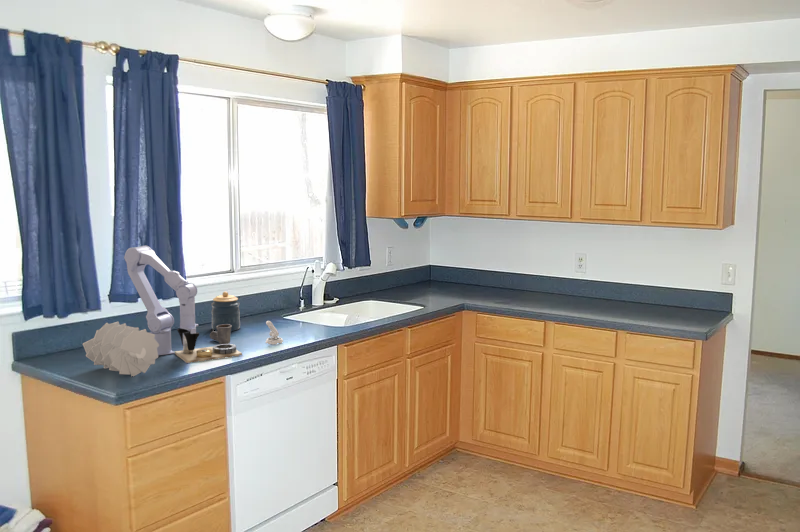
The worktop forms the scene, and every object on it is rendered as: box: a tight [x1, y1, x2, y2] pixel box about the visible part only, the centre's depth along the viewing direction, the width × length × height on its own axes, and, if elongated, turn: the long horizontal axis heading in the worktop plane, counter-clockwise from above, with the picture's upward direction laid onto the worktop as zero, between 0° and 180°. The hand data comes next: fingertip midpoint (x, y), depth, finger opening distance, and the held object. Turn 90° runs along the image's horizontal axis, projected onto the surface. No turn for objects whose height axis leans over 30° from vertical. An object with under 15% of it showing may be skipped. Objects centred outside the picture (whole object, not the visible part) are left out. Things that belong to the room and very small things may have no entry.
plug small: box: [196, 349, 212, 358], centre depth 272 cm, size 6×6×2 cm
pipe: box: [209, 324, 232, 344], centre depth 297 cm, size 6×13×8 cm, turn 50°
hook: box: [265, 320, 284, 345], centre depth 298 cm, size 8×12×7 cm
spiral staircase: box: [82, 321, 159, 377], centre depth 252 cm, size 18×18×25 cm
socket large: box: [212, 343, 237, 354], centre depth 279 cm, size 9×9×2 cm
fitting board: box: [174, 346, 243, 364], centre depth 278 cm, size 22×16×1 cm
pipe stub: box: [182, 332, 194, 354], centre depth 276 cm, size 4×4×8 cm
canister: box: [210, 291, 241, 332], centre depth 322 cm, size 13×13×18 cm
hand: (188, 347), depth 276 cm, fingers open, 7 cm apart
